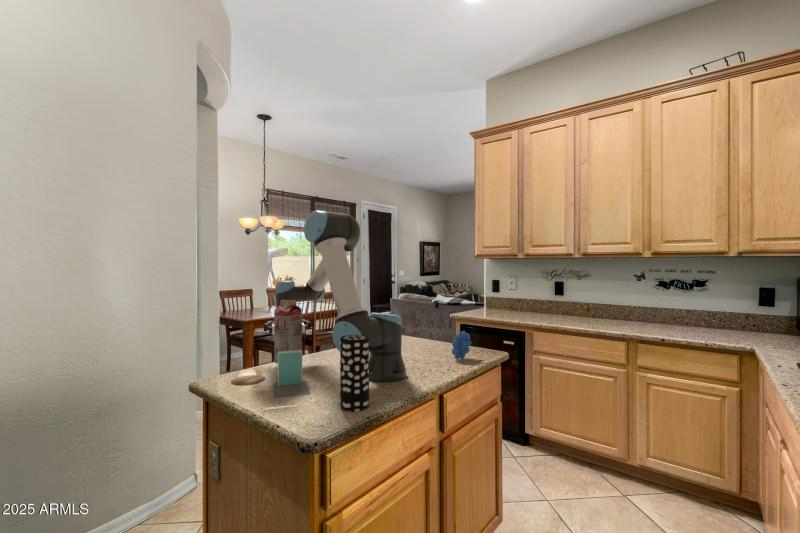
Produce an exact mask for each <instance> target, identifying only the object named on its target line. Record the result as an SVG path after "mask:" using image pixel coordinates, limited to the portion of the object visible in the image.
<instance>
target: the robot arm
mask: <svg viewBox="0 0 800 533" xmlns="http://www.w3.org/2000/svg"><path fill="white" fill-rule="evenodd" d="M303 234H304V237H305V239H306V241H308V242H309V243H312V244H313V245H314V249H315V251H316V252H318V253H319V254H320V255H321V258H322V259H321V260H320V262H319V263H318V265H317V267H316V268H315V269H314V271H313V273H312V274H311V276H310V277H309V279H308V280H307V282H306V283H305V284H296V283H295V281H294V280H279V281H277V282H276V287H275V288H276V289H275V298H276V300H275V301H276V302H275V303H276V305H275V309H276V308H277V307H278V306H279V305H281V300H294V301H296V303H300V302H301V303H303V302H316V301H321V300H322V299H324V297H325V294H326V289H325V287H326V286H327V285H328V283H329V287H330V290H331V293H332V294H331V295H332V298H333V300H334V305H335V308H336V312H337V316H336V318H335V320H334V321H335V324H334V325H333V328H332V333H331V336H332V341H333V345H334V347H335V348H336V350H338V352H340V337H342V336H347V335H365V336H368V337H369V381H370V380H371V381H373V382H384V383H385V382H397V381H400V380H403V379H405V378H406V377H407V368H406V366H405V362H404V358H403V355H402V343H403V342H402V339H403V338H402V330H403V324H402V317H401V316H400V315H399V314H393V313H385V312H371V313H369V311H368V310H367V309H366V308H364V307H363V306H362V303H361V300H360V297H359V292H358V290H357V286H356V283H355V280H354V276H353V273H352V270H351V266H350V263H349V261H348V257H347V255H348V254H349V253H351V252H354V251H353V250H354V249H356V247H357V245H358V243H359V242H360V237H361V228H360V224H359V222H358V220H357V219H356V218H355V217H354V216H352V215H351V214H349V213H341V212H340V213H339V212H334V211H333V212H331V211H326V210H313V211H311V212H310V213H309V215H308V216H307V217H306V220H305V223H304V226H303ZM307 330H312V322H311V321H310V320H306V319H305V318H302V334H306V331H307ZM263 332H268V334H271V335H272V336H274V335H275V325H274V320H268V321H267V322H266V323H265V322H264V324H263Z"/></svg>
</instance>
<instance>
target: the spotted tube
mask: <svg viewBox="0 0 800 533" xmlns="http://www.w3.org/2000/svg"><path fill="white" fill-rule="evenodd" d="M339 352H340V354H339V355H340V356H339V359H340V360H339V364H340V366H339V373H340V374H339V376H340V377H339V382H340V383H339V385H340V386H339V387H340V391H339V394H340V395H339V400H340V401H339V407H340V409H341V410H342V411H345V412H353V413H354V412H356V413H357V412H361V411H364V410H365V411H366V410H367V409H368V408H369V407H370V379H369V357H370V352H369V337H368V336H365V335H347V336H342V337H340V351H339Z"/></svg>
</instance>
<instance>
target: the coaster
mask: <svg viewBox="0 0 800 533" xmlns="http://www.w3.org/2000/svg"><path fill="white" fill-rule="evenodd" d="M265 380H266V377H265V376H264V375H259V374H253V375H252V374H250V375H249V374H248V375H243V376H242V375H241V376H239V377H234V378H233V379H231V380H230V381H231V382H230V383H231V384H232V385H234V386H250V385H251V386H252V385H256V384H260V383H262V382H264V381H265Z"/></svg>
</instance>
